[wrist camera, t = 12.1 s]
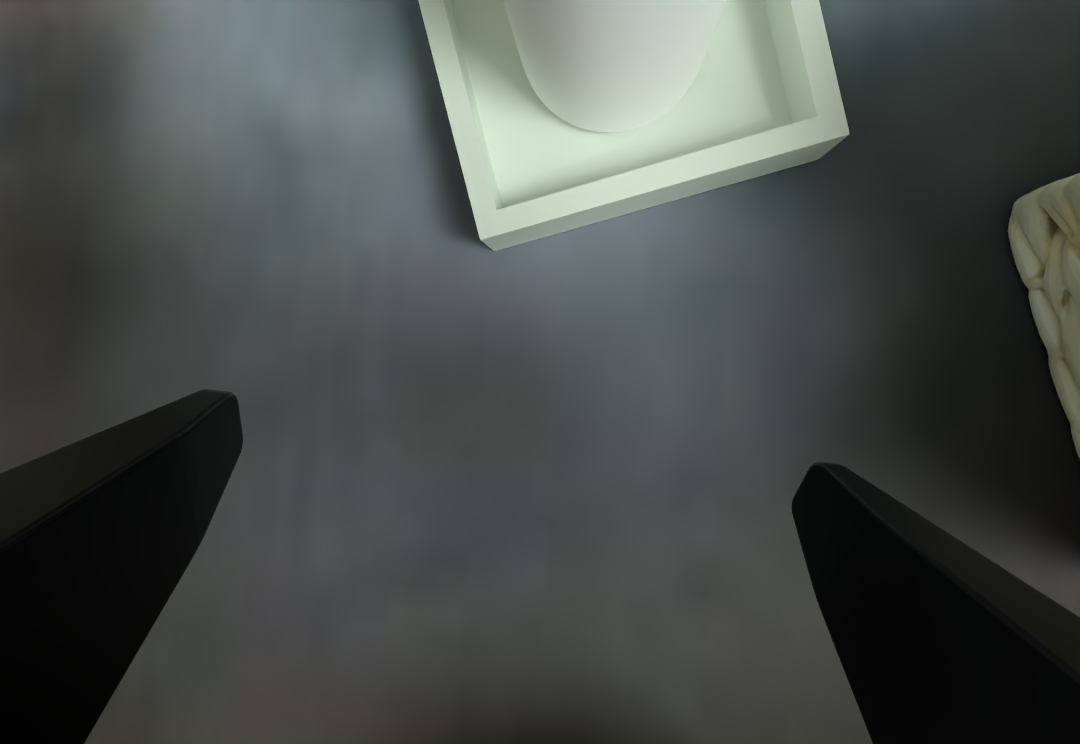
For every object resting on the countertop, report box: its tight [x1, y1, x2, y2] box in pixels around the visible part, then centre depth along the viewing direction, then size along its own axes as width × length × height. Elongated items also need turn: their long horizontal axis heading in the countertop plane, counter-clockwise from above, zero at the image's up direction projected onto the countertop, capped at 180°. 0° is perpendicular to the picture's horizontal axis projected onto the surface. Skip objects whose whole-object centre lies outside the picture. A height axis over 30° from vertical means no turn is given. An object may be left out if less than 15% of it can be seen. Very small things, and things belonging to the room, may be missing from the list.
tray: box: [418, 0, 850, 251], centre depth 19 cm, size 12×12×2 cm
